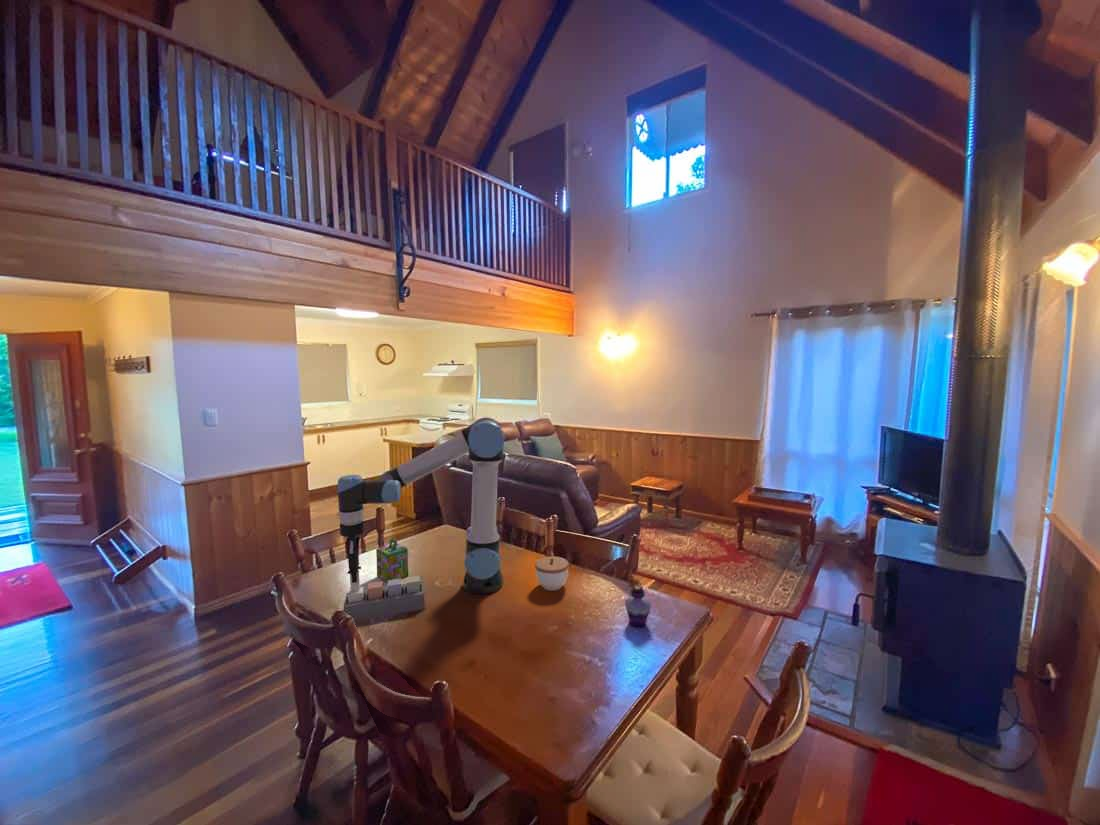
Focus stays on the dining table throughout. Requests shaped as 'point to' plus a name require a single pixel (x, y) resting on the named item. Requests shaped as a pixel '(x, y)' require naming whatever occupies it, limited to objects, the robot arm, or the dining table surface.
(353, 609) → the console
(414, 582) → the sage key
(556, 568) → the lidded bowl
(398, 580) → the slate key
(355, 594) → the ivory key
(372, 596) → the terracotta key
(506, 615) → the dining table surface
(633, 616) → the potion bottle
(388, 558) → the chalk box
